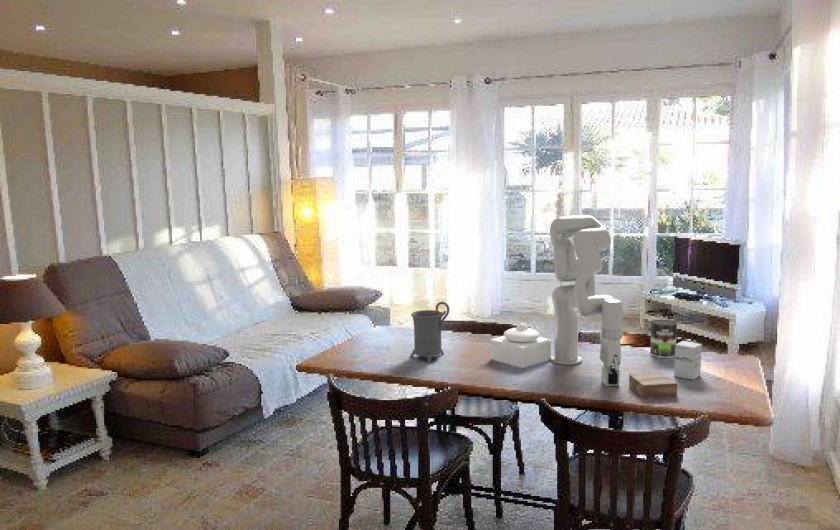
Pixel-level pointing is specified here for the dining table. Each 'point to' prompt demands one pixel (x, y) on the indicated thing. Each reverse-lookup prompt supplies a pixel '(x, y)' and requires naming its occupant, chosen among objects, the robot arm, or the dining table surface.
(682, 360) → the supplement box
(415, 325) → the mug
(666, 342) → the coffee can
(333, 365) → the dining table surface
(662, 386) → the walnut box
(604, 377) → the green block
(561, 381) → the dining table surface
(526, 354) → the white lidded container
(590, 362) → the dining table surface
